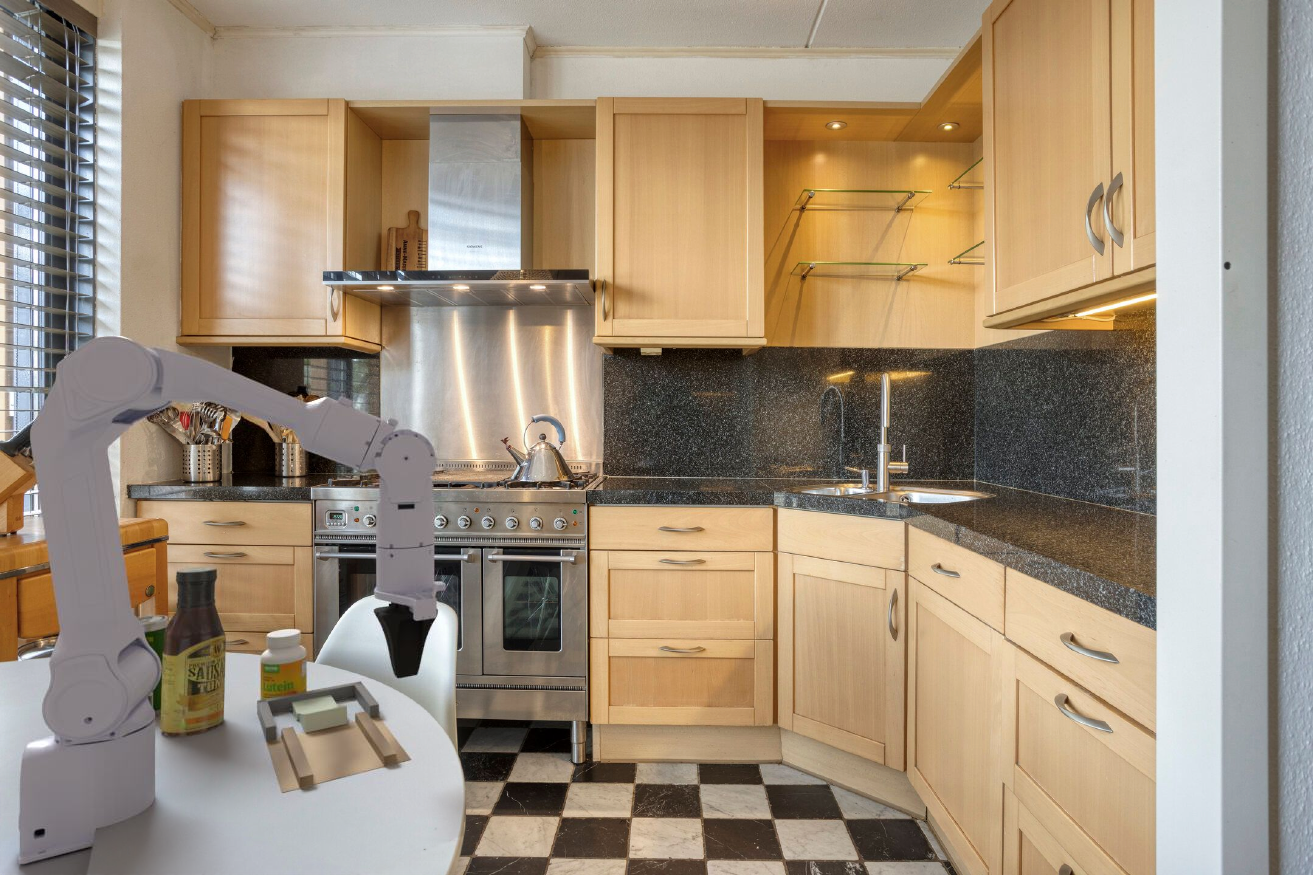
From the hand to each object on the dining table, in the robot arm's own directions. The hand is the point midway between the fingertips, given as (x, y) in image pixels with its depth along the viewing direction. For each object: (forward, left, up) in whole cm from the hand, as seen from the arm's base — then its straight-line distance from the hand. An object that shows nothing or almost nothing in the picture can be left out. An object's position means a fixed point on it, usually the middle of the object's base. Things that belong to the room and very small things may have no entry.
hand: (406, 675), depth 73 cm
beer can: (-23, +37, -11) cm, 45 cm away
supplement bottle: (-8, +29, -11) cm, 32 cm away
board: (-6, +7, -10) cm, 14 cm away
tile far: (-6, +21, -10) cm, 24 cm away
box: (-6, +19, -10) cm, 22 cm away
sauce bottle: (-18, +24, -11) cm, 32 cm away
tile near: (-5, +16, -9) cm, 19 cm away
